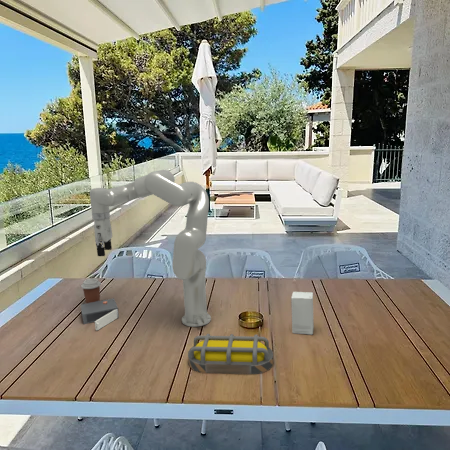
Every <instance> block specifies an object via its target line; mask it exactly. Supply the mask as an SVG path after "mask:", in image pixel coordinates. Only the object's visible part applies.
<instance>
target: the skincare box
mask: <svg viewBox="0 0 450 450" xmlns="http://www.w3.org/2000/svg"><path fill="white" fill-rule="evenodd" d="M290 299H291V302H290V303H291V330H292V331H291V332H292V334H299V335H313V334H314V324H315V323H314V292H311V291H310V292H309V291H307V292H306V291H292V294H291V298H290Z"/></svg>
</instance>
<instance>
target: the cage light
mask: <svg viewBox="0 0 450 450" xmlns="http://www.w3.org/2000/svg"><path fill="white" fill-rule="evenodd" d="M262 342H263V343H262ZM187 360H188V366H189V368H190V367H191V370H193V369H194V370H193V371H195V372H197V371H198V373H201V372H203V373H202V374H224V375H225V374H226V375H228V374H231V375H259V374H263V373H265V372H268V371H270V369H271V368H272V367H273V365H274V351H273V350H272V349H271V347H270V342H269V339H268V338H267V337H265V336H258V334H254V335H253V336H248V335H247V336H243V335H241V336H239V335H238V336H237V335H236V336H235V335H234V334H233V333H231V334H230V335H211V334H210V333H207V334H206V335H197V336H195V337H194V339H193V346H192V347H191V348H190V349H189V350H188V351H187Z"/></svg>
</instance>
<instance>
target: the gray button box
mask: <svg viewBox="0 0 450 450" xmlns="http://www.w3.org/2000/svg"><path fill="white" fill-rule="evenodd" d="M115 309H118V310H119V308H118V305H117V302H116V300H115V298H109V299H108V298H107V299H103V300H102V299H101V300H100V301H95V302H91V303H86V302H85V303H82V304H80V311H81V317H82V321H83V325H86V324H91V323H95V321H96V320H98V319H100V318H101V317H103V316H105V315H107V314H108V313H110V312H112V311H113V310H115ZM119 313H120V312H118V317H120V315H119Z"/></svg>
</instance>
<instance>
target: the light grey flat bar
mask: <svg viewBox="0 0 450 450" xmlns="http://www.w3.org/2000/svg"><path fill="white" fill-rule="evenodd" d="M118 313H119V308H118V309H115V310H113V311H112V312H110V313H108V314H107V315H105V316H103V317H101V318H100V319H98V320H96V321H95V322H94V325H95V326H94V327H95V331H99V330H101V329H102V328H104V327H105V326H107V325H109V324H110V323H112V322H113V321H115V320H117V319H119V317H120V316H119V317H118Z"/></svg>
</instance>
